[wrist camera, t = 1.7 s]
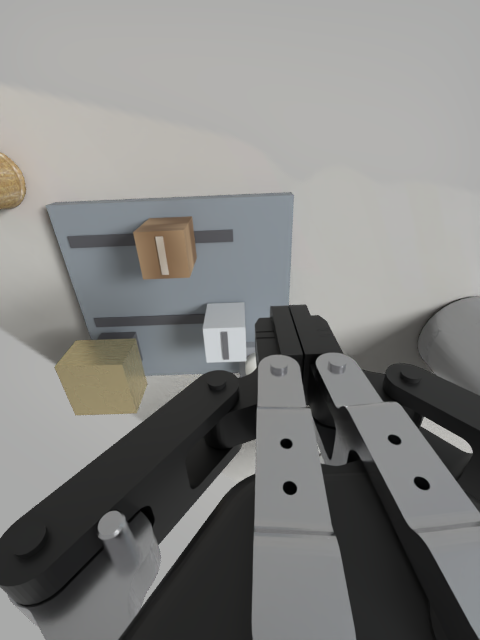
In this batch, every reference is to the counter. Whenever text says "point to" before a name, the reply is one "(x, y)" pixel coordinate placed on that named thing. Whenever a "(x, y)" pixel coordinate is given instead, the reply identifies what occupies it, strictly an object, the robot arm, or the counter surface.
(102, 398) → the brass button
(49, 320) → the counter surface
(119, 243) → the board
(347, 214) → the counter surface
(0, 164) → the sprinkles bottle
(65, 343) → the counter surface
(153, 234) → the walnut fader
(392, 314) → the counter surface
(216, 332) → the grey fader
